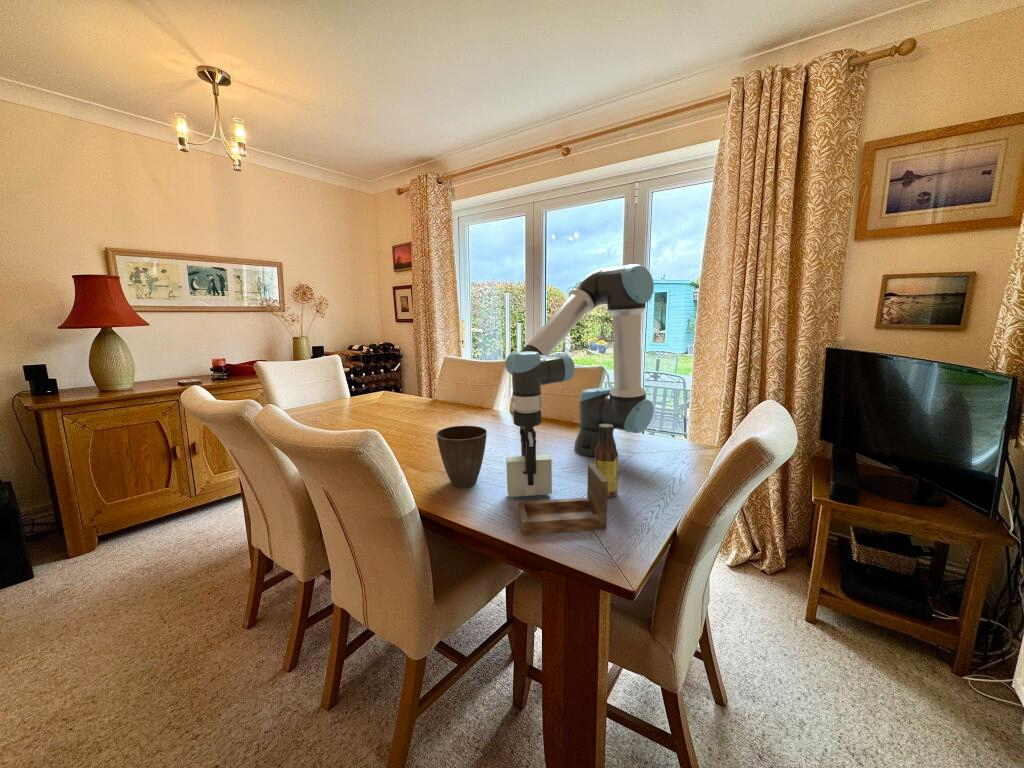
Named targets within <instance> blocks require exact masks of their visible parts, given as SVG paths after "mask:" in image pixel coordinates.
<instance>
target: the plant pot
mask: <svg viewBox="0 0 1024 768" xmlns="http://www.w3.org/2000/svg"><path fill="white" fill-rule="evenodd" d="M487 433H488V431H487V429H486V428H484V427H481V426H477V425H455V426H449V427H445V428H442V429H439V430H438V431H437V432H436V434H435V435H436V440H437V445H438V450H439V454H440V458H441V461H442V464H443V466H444V469H445V472H446V475H447V476H448V477H447V478H449V481H450V483H451V485H452V486H453V487H455V488H458V489H459V488H461V489H462V488H464V489H465V488H469V487H473V486H474V485H476V484H477V481H478V478H479V476H480V472H481V468H482V465H483V461H484V455H485V450H486V443H487Z"/></svg>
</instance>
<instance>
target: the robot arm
mask: <svg viewBox="0 0 1024 768" xmlns="http://www.w3.org/2000/svg"><path fill="white" fill-rule="evenodd" d="M654 287H655V285H654V279H653V276H652V274H651V272H650V271H649V270H648V268H647V267H645V266H644V265H641V264H624V265H619V266H618V265H616V266H610V267H601V268H598V269H596V270H594V271H592V272H590V273H589V274H588V275H586V276H585V277H583V279H581V280H580V281H579V282H578V283H576V285H575V286H574V287H573V288H572V289H571V290H570V291H569V293H568V298H567V299H566V300H565V301H564V303H563V304H562V305H561V306H560V307H559V308H558V309H557V310H556V311H555V313H554V314H553V315H552V316H551V317H550V318H549V319H548V320H547V322H546V323H545V324H544V325H543V326H542V327H541V328H540V329H539V330H538V332H536V334H535V335H534V336H533V337H532V338H531V339H530V340H529V341H528V343H527V344H526V345H525V346H524V347H522V349H521V350H520V351H514V352H511V353H509V354H508V356H507V357H506V359H505V369H506V372H507V373H509V375H511V381H512V383H511V385H512V398H510V402H512V404H513V413H512V414H513V416H512V417H513V418H512V419H513V425H515V426H517V427H520V428H519V435H520V450H521V453H520V454H521V455H520V456H525V469H526V471H523V474H525V495H526V497H527V496H528V497H529V496H537V495H536V493H535V474H536V472H537V471H536V455H537V431H536V430H535V428H534V427H537V426H540V425H541V424H542V411H541V409H542V386H545V385H552V384H557V383H560V384H561V383H563V382H566V381H570V380H571V379H572V378H573V376H574V374H575V371H576V370H575V369H576V368H575V363H574V360H573V359H572V358H571V357H570V356H569V355H567V354H557V355H551V354H552V353H553V352H554V351H555V350H556V348H557V347H558V346H559V345H560V344H561V342H562V341H563V340H564V339H565V338H566V337H567V336H568V334H570V332H571V331H572V329H574V327H575V326H576V325H577V324H578V323H579V322H580V321H581V320H582V318H583V317H584V316H585V315H586V314H588V313H591V312H592V311H593V310H594V309H595V308H596V307H598V306H600V305H607V311H608V312H609V313H610V314H611V316H612V341H613V342H612V345H613V354H612V355H613V388H612V387H594V388H587V389H584V390H582V391H581V392H580V395H579V401H578V403H579V430H578V432H577V435H576V438H575V442H574V451H575V452H576V453H578V454H579V455H583V456H587V457H593V458H595V449H596V446H597V445H598V443H599V425H600V424H612V425H613V426H614V430H615V429H616V430H619V431H623V432H626V433H632V434H640V433H642V432H644V431H645V430H646V429H647V428H648V427H649V425H650V424H651V422H652V420H653V417H654V412H655V411H654V404H653V402H652V401H651V400H649V399H647V398H646V397H647V392H646V390H645V389H644V388H642V368H641V367H642V364H641V363H642V362H641V361H642V357H641V356H642V353H641V351H642V348H641V347H642V345H641V343H642V342H641V341H642V339H641V337H642V336H641V333H642V332H641V329H642V327H641V326H642V324H641V315H642V313H643V311H644V310H645V309H646V303H648V302H649V301H651V299H652V297H653V294H654V291H655V290H654ZM613 441H614V444H615V447H616V448H617V444H616V441H615V437H614V435H613Z"/></svg>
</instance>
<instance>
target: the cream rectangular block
mask: <svg viewBox="0 0 1024 768" xmlns="http://www.w3.org/2000/svg"><path fill="white" fill-rule="evenodd" d="M505 460H506V464H505V465H506V486H507V487H506V489H507V495H508V497H509V498H510V497H525V496H526V495H525V474H523V471H526V469H525V456H521V455H516V456H514V455H513V456H506V459H505ZM552 461H553V460H552V457H551V456H550V454H549V453H548V454H547V453H546V454H536V471H537V472H536V474H535V493H536V495H535V496H539V495H552V494H553V485H552V484H553V482H552V481H553V480H552V479H553V478H552V475H553V473H552V472H553V471H552V469H553V466H552V465H553V464H552ZM526 497H527V496H526Z"/></svg>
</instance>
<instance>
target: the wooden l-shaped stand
mask: <svg viewBox="0 0 1024 768" xmlns="http://www.w3.org/2000/svg"><path fill="white" fill-rule="evenodd" d="M586 489H587V492H586V493H587V495H586V496H587V497H576V498H575V497H573V498H559V499H540V500H526V501H525V500H522V501H517V502H516V513H517V517H518V519H517V520H518V522H519V526H520V530H521V531H520V532H521V534H522V536H528V535H529V536H530V535H541V534H555V533H556V534H557V533H572V532H584V531H585V532H589V531H600V530H601V531H602V530H607V525H608V524H607V523H608V520H607V518H608V498H607V490H608V481H607V480H606V479H605V477H604V476H603V475H602V474H601V472H600V471H599V470H598V469H597V468H596V466H595V463H588V464H587V488H586Z"/></svg>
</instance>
